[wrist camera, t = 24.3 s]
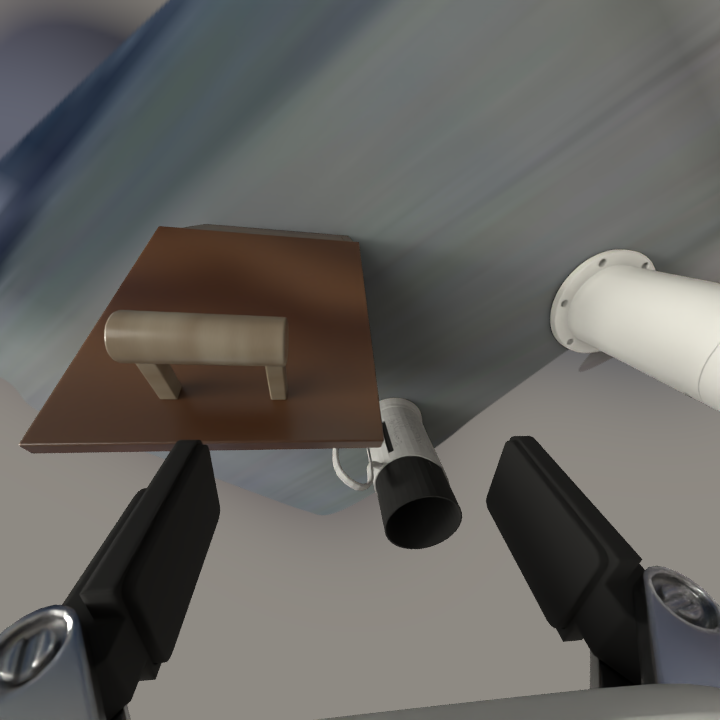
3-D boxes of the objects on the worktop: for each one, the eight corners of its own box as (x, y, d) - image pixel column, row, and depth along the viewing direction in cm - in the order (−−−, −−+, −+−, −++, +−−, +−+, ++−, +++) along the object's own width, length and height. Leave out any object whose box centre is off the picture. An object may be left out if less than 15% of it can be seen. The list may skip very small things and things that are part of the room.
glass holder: (396, 457, 46) (428, 561, 32) (312, 418, 41) (309, 522, 27) (434, 414, 43) (487, 509, 30) (349, 367, 38) (365, 455, 25)
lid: (381, 448, 14) (411, 381, 10) (31, 454, 12) (-111, 373, 8) (357, 251, 23) (368, 177, 19) (162, 236, 21) (129, 150, 17)
